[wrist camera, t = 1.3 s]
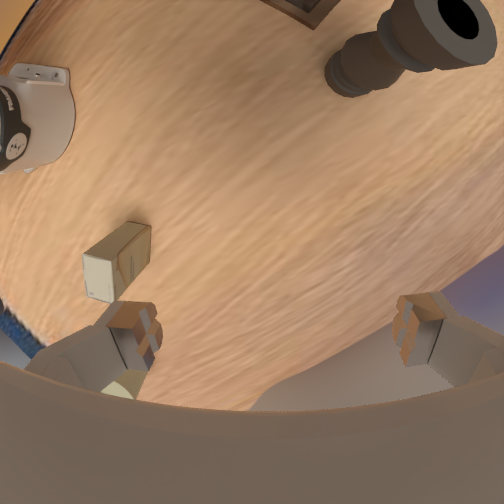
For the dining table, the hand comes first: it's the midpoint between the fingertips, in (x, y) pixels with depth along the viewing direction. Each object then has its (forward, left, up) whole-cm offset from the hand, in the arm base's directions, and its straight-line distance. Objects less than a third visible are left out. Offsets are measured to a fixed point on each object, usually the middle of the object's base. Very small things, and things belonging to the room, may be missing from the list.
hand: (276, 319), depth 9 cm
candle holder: (0, +16, -30) cm, 34 cm away
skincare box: (-11, -20, -30) cm, 38 cm away
